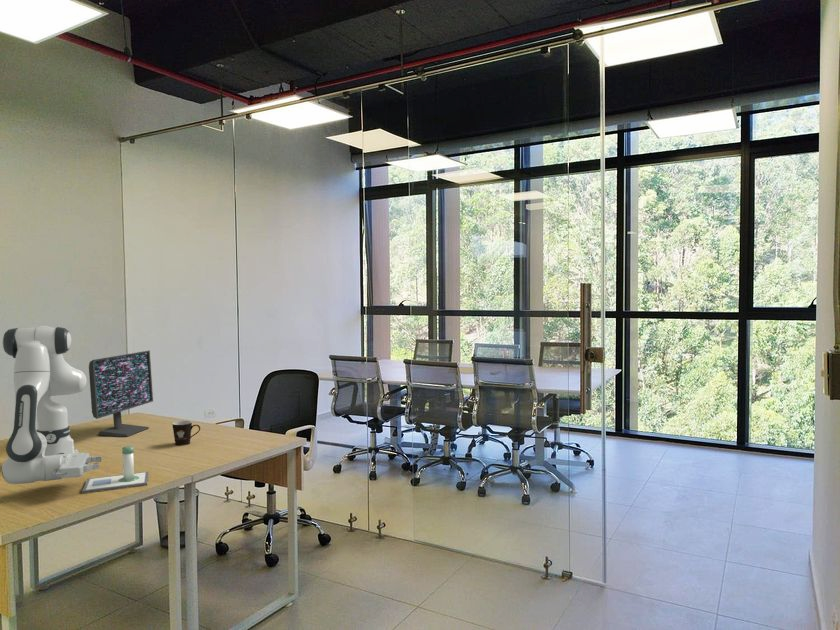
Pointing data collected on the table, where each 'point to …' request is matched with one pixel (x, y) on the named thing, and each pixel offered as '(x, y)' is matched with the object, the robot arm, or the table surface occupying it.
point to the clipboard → (114, 482)
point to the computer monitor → (120, 389)
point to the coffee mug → (183, 432)
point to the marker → (128, 463)
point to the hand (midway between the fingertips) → (100, 462)
